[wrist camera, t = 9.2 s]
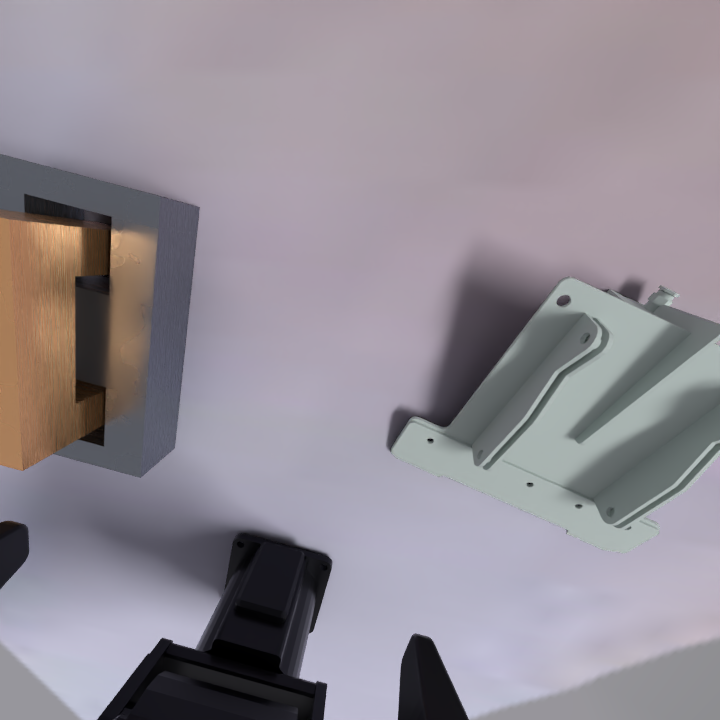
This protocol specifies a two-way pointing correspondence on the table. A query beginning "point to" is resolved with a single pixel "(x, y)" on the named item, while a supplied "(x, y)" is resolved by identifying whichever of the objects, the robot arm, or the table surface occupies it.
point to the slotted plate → (122, 308)
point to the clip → (45, 334)
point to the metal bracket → (587, 416)
